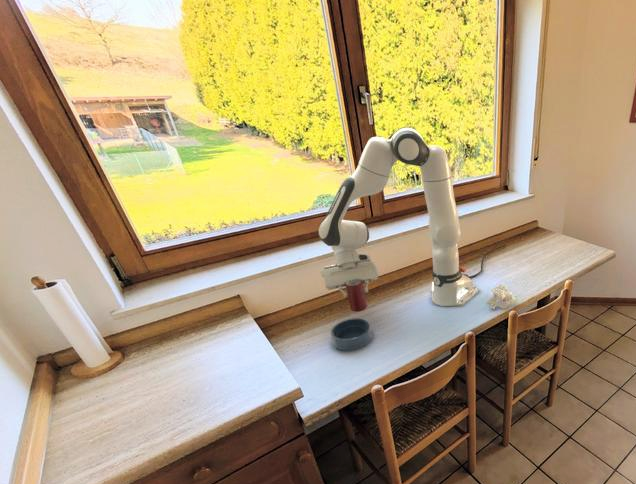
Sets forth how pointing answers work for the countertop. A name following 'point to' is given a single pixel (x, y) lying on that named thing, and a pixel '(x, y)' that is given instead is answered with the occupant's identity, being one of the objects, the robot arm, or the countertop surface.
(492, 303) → the white irregular lump
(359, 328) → the bowl
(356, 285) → the can
